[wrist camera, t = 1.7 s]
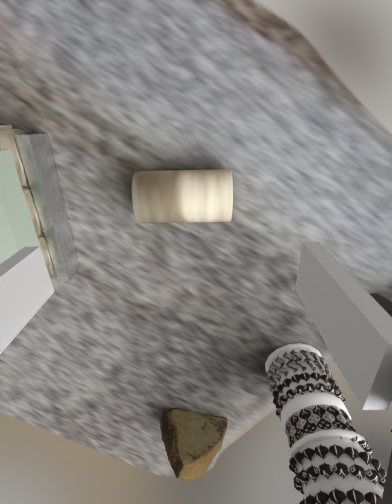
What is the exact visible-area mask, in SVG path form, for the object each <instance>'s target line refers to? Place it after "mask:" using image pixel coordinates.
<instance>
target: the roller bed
mask: <svg viewBox="0 0 392 504" xmlns="http://www.w3.org/2000/svg"><path fill="white" fill-rule="evenodd" d="M5 149H10V151H11V155H12V158H13V161H14V164H15V167H16V171H17V174H18V177H19V180H20V183H21V187H22V190H23V193H24V196H25V199H26V203H27V206H28V209H29V212H30V215H31V219H32V222H33V225H34V228H35V231H36V234H37V238H38V241H39V244H40V247H41V250H42V254H43V257H44V260H45V263H46V266H47V270H48V273H49V276H50V278H55V277H57V279H58V282H69V281H70V280H71V279H72V277H73V276H74V275H75V274H76V272H77V271H78V270H79V269H80V268H81V267H80V263H79V259H78V255H77V251H76V247H75V243H74V239H73V235H72V231H71V227H70V223H69V219H68V215H67V211H66V207H65V203H64V199H63V195H62V191H61V187H60V183H59V179H58V175H57V171H56V167H55V163H54V159H53V155H52V151H51V147H50V143H49V139H48V135H47V133H41V134H27V133H26V132H25V131H23V130H21V129H0V150H5Z"/></svg>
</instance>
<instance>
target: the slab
mask: <svg viewBox="0 0 392 504" xmlns="http://www.w3.org/2000/svg"><path fill="white" fill-rule="evenodd" d="M37 246H40V244H39V241H38V238H37V234H36V231H35V228H34V225H33V222H32V219H31V215H30V212H29V209H28V206H27V203H26V199H25V196H24V193H23V190H22V187H21V183H20V180H19V177H18V174H17V171H16V167H15V164H14V161H13V158H12V155H11V151H10V149H5V150H0V264H1V263H3V262H4V261H5V260H7V259H8V258H10V257H11V256H12V255H14V254H15V253H17V252H18V251H19V250H21V249H22V248H24V247H37ZM40 249H41V247H40ZM41 252H42V250H41ZM42 255H43V254H42ZM43 259H44V257H43ZM44 262H45V260H44ZM45 265H46V263H45ZM46 268H47V266H46ZM47 271H48V270H47ZM48 274H49V273H48ZM49 278H50V276H49ZM50 281H51V279H50ZM51 284H52V282H51ZM52 287H53V286H52ZM53 290H54V289H53Z"/></svg>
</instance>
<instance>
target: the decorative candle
mask: <svg viewBox="0 0 392 504" xmlns="http://www.w3.org/2000/svg"><path fill="white" fill-rule="evenodd" d="M265 371H266V373H267V375H268V376H269V378H268V379H267V381H268V382H269V384H270V385H271V387H270V391H271V392H273V397H274V400H273V403H274V404H275V405H276V408H277V411H276V415H277V416H278V417H280V420H281V422H282V426H283V429H284V432H285V433H286V434H287V436H288V441H289V446H290V448H291V449H290V450H289V462H290V465H289V468H290V470H291V471H293V472H294V473H295V474H296V475H297V476H295V478H294V487H295V488H296V489H297V490H298V491H300V492H301V493H302V494H304V495H305V499H303V500H302V501H301V502H300V504H381V501H382V496H383V491H384V486H385V481H386V476H387V475H386V472H385V471H384V470H383V469H381V463H380V462H379V461H378V460H376V459H372V457H371V455H372V453H373V452H372V449H371V448H370V447H369V446H368V443H367V442H366V441H365V439H364V437H362V436H361V435H358V434H357V432H356V430H355V428H354V426H353V424H352V422H351V417H350V415H349V413H348V411H347V409H346V407H345V405H344V404H345V402H346V400H345V398H344V397H342V393H341V392H340V391H339V387H338V386H336V381H335V380H333V379H334V377H333V375H332V374H331V372H330V369H329V368H328V365H327V364H326V363H325V360H324V358H322V356H321V354H320V352H319V350H317V349H316V348H314V347H313V346H311V345H307V344H302V343H295V344H287V345H285V346H282V347H280V348H277V349H276V350H275V351H274V352H272V353H271V354H270V355H269V356H268V358H267V360H266V362H265ZM373 467H374V468H375V469H376V471H377V472H376V471H375V470H374V468H373Z"/></svg>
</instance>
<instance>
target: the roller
mask: <svg viewBox="0 0 392 504" xmlns="http://www.w3.org/2000/svg"><path fill="white" fill-rule="evenodd" d="M132 203H133V210H134V214H135V218H136V220H137V222H138V223H177V222H226V221H231V217H232V207H233V182H232V172H231V169H213V170H173V171H136V172H135V173H134V175H133V179H132Z"/></svg>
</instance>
